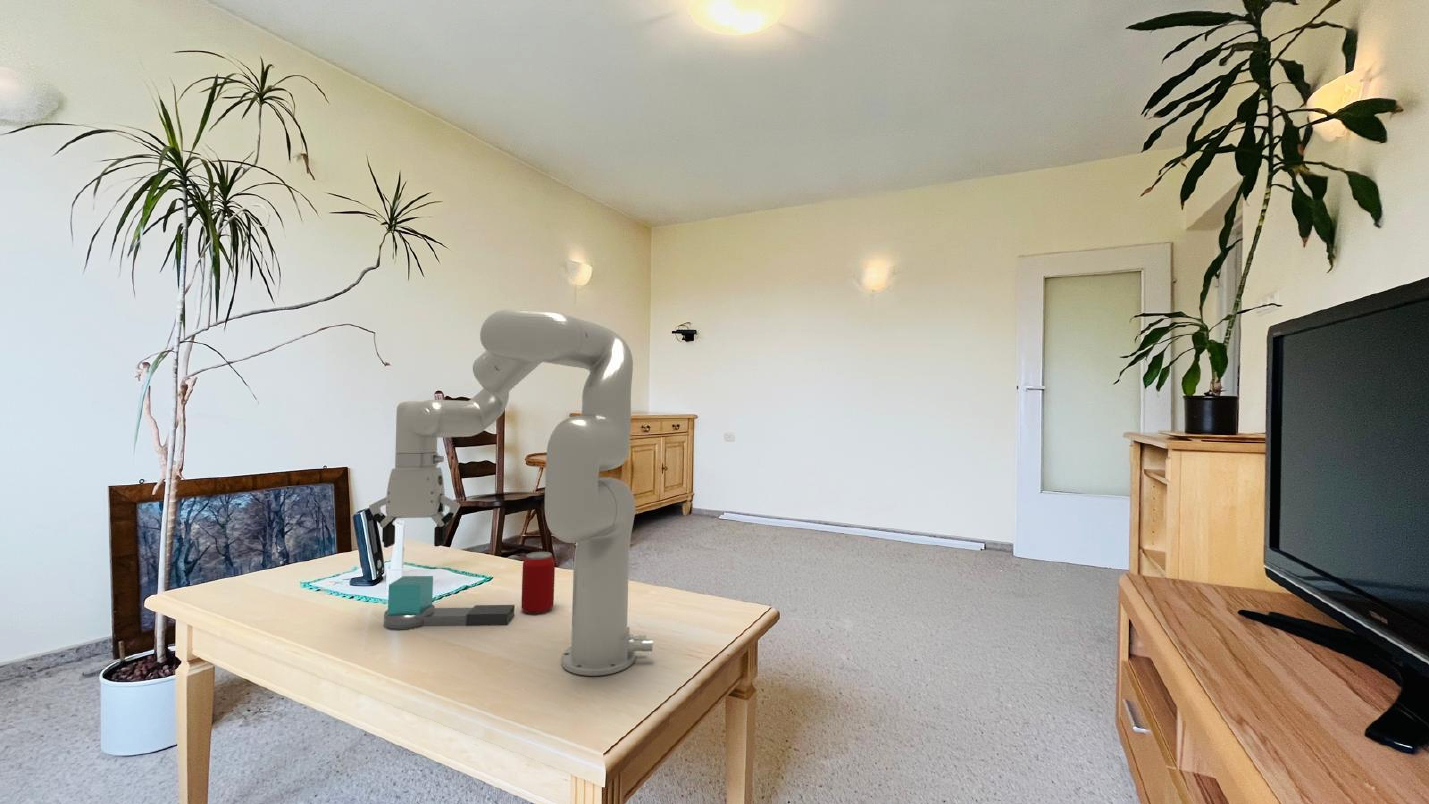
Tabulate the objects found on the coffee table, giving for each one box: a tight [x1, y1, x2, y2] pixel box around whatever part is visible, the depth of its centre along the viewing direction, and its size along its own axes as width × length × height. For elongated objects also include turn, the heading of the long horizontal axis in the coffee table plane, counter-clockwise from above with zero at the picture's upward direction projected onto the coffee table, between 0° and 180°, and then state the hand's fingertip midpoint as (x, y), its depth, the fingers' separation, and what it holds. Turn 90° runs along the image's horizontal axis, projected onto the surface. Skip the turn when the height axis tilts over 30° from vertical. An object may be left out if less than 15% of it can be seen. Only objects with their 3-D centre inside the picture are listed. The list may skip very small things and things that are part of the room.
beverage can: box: [521, 551, 556, 615], centre depth 120 cm, size 7×7×12 cm
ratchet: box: [383, 604, 516, 632], centre depth 112 cm, size 24×9×6 cm, turn 96°
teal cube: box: [387, 575, 434, 616], centre depth 111 cm, size 6×6×6 cm
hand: (414, 545), depth 111 cm, fingers open, 9 cm apart
